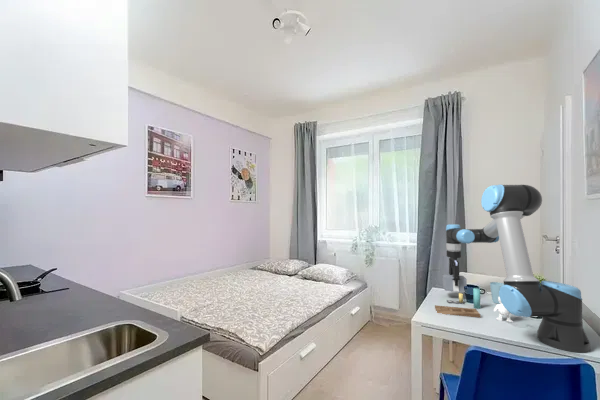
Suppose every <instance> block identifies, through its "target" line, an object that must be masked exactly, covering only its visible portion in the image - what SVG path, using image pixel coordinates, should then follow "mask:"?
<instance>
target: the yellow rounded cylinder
mask: <svg viewBox="0 0 600 400" xmlns="http://www.w3.org/2000/svg"><path fill="white" fill-rule="evenodd" d="M446 303H448V304H457V305H466V304H465V302H464V294H463V292H458V300H450V299H449V300H448V299H446Z"/></svg>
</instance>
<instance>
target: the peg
mask: <svg viewBox="0 0 600 400" xmlns="http://www.w3.org/2000/svg"><path fill="white" fill-rule="evenodd" d="M472 291H473V292H472V293H473V309H476V310H477V309H478V310H479V309H480V310H481V289H480V288H478V287H474V288H473V290H472Z"/></svg>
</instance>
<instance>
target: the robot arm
mask: <svg viewBox="0 0 600 400" xmlns="http://www.w3.org/2000/svg"><path fill="white" fill-rule="evenodd" d="M480 201H481V203H480V204H481V207H482V209H483V211H486V212H488V213H489V215H490V218H492V220H490V222H489V223H487V224H486V225H485V226H484V227H483V228H461V225H460V224H457V223H456V224H454V223H449V224H446V226H445V239H446V243H445V245H446V247H445V248H446V257H447V258H448V262H449V263H448V275H453V277H454V279H452V280H453V291H452V292H457V291H458V293H460V292H459V280H460V276H461V275H460V262H459V260H458V259H460V258H462V251H461V250H462V247H463V245H462V244H467V245H468V244H472V243H473V244H474V243H475V244H476V243H477V244H479V243H481V244H482V243H485V244H486V243H487V244H493V243H498V242H499V243H500V244H499V245H500V249H501V253H502V259H503V263H504V268H505V273H506V278H504V279H503V283H504V285H503V286H501V287H500V291H499V297H500V300H501V302H502V304H503V306H504V307H505V309H507V311H508V312H510V314H511V315H513V316H515V317H523V318H524V317H525V318H530V317H532V318H533V317H536V318H537V317H540V318H541V321H540V324H539V326H538V329H537V331H536V332H537V333H536V337H537V339H538V340H539V341H540V342H541V343H543V344H545V345H547V346H550V347H553V348H554V349H558V350H561V351H566V352H572V353H588V352H590V351H591V342H590V341H589V338H588V336H587V334H586V331H585V329H584V327H583V326H584V325H583V297H582V291H581V289H580V288H578V287H576V286H574V285H571V284H566V283H563V282H559V281H558V282H557V281H550V280H541V281H540V280H539V278H537V277H535V276H534V274H533V269H532V264H531V259H530V256H529V252H528V251H529V250H528V246H527V242H526V238H525V234H524V230H523V225H522V221H521V220H522V219H523V218H525V217H530V216H531V215H533V214H534V213H536V212H537V211H538V210H539V209H540V207H541V206H542V202H543V196H542V194H541V192H540V191H539V190H538V189H537V188H535V187H534V186H532V185H529V184H492V185H490V186H488V187H487V188H485V190H484V191H483V192H482V196H481V199H480ZM456 277H457V278H456Z"/></svg>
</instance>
